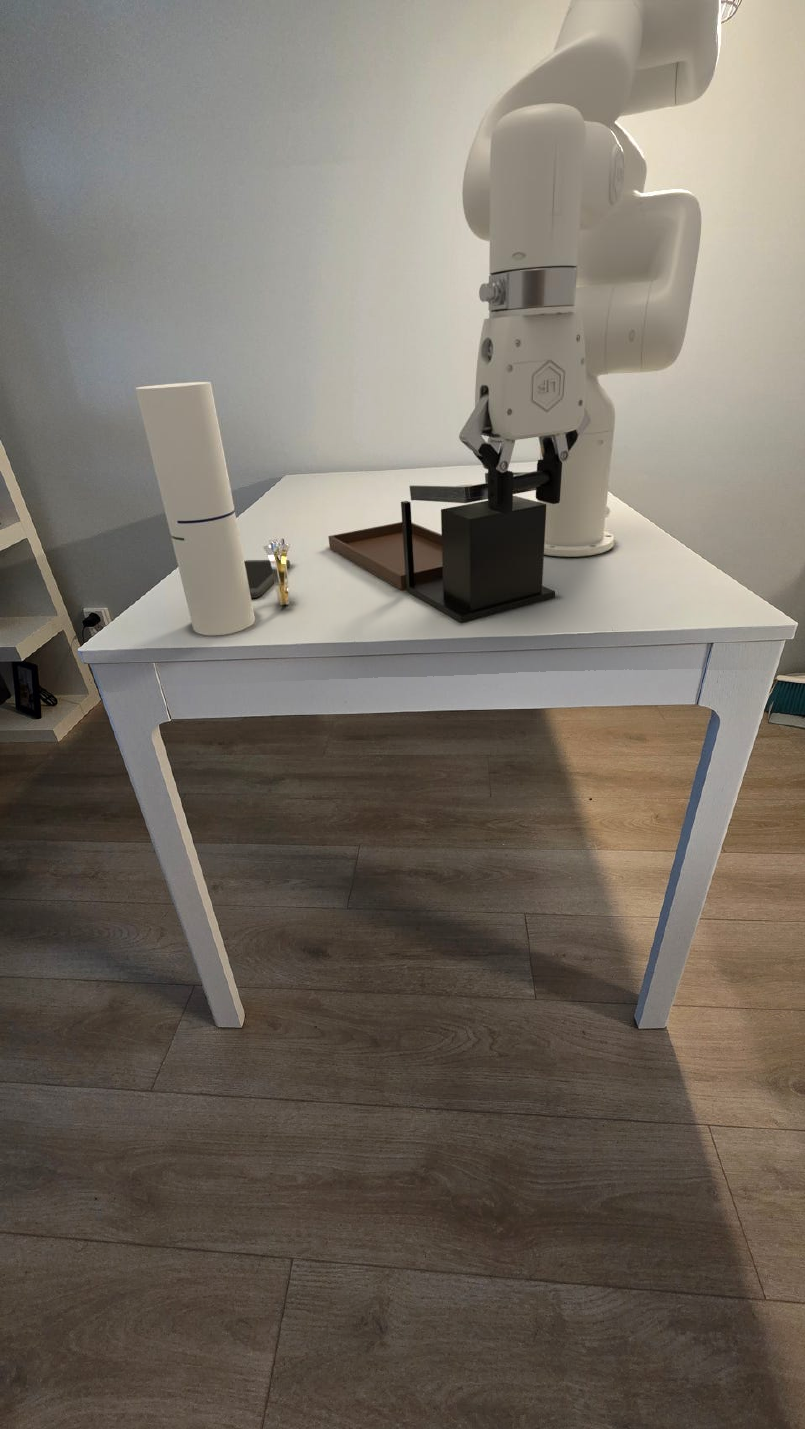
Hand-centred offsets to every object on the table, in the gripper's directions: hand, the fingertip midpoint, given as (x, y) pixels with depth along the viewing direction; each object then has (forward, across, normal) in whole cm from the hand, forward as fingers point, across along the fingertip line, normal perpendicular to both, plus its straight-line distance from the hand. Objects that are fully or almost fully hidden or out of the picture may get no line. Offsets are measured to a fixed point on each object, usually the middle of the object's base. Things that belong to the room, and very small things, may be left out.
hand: (524, 504), depth 66 cm
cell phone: (+12, -22, +32) cm, 40 cm away
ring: (+12, -21, +20) cm, 31 cm away
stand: (+12, 0, +9) cm, 15 cm away
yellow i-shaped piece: (0, 0, +10) cm, 10 cm away
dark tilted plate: (0, 0, +7) cm, 7 cm away
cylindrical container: (+12, -29, +18) cm, 37 cm away
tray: (+12, 0, +28) cm, 30 cm away
